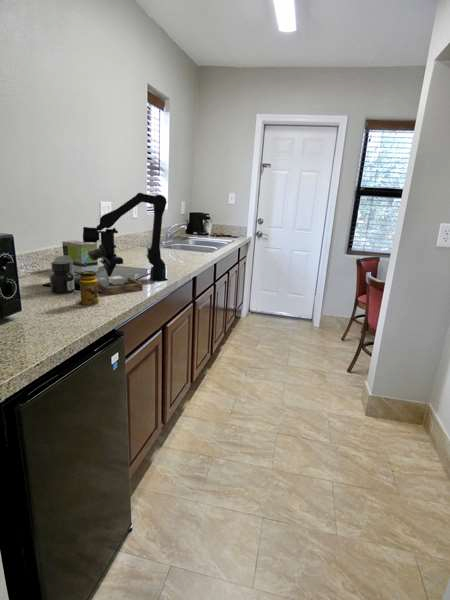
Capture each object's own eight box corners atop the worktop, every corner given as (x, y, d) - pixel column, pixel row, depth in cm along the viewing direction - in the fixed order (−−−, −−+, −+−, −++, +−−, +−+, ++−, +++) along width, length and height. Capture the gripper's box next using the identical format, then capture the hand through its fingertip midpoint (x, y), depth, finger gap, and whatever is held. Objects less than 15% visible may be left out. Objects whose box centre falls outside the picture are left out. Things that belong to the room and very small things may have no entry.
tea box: (99, 271, 181) (97, 242, 176) (82, 274, 173) (80, 244, 168) (80, 267, 188) (78, 239, 184) (63, 269, 180) (61, 240, 176)
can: (67, 285, 151) (65, 258, 148) (52, 284, 152) (49, 256, 149) (77, 282, 158) (76, 255, 155) (63, 280, 159) (60, 254, 156)
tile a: (119, 282, 163) (119, 275, 162) (124, 284, 159) (124, 278, 158) (109, 283, 160) (109, 276, 159) (113, 285, 156) (113, 279, 155)
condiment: (98, 306, 127) (96, 274, 123) (73, 307, 125) (71, 274, 121) (100, 300, 133) (99, 270, 130) (76, 301, 131) (74, 269, 128)
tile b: (103, 283, 158) (103, 277, 157) (108, 286, 155) (108, 279, 154) (92, 285, 155) (92, 278, 154) (97, 287, 151) (97, 281, 151)
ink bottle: (75, 293, 140) (73, 264, 137) (51, 295, 137) (48, 265, 133) (74, 287, 149) (72, 259, 145) (50, 289, 145) (48, 260, 141)
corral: (129, 284, 159) (129, 277, 158) (142, 290, 150) (142, 283, 150) (94, 288, 149) (94, 281, 148) (106, 295, 140) (106, 288, 139)
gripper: (82, 240, 161) (84, 274, 165) (98, 246, 147) (100, 282, 152) (105, 239, 168) (107, 271, 172) (123, 245, 155) (124, 279, 159)
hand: (109, 276), depth 164 cm, fingers closed
